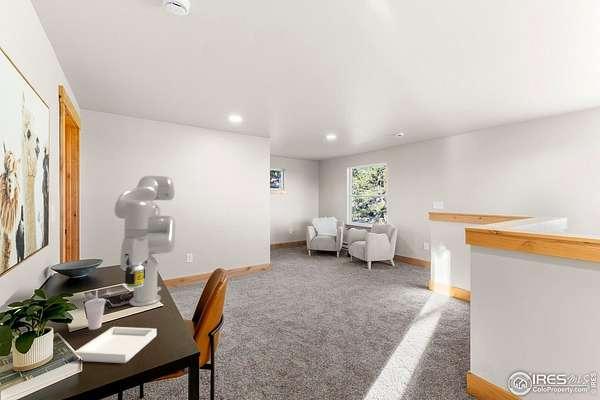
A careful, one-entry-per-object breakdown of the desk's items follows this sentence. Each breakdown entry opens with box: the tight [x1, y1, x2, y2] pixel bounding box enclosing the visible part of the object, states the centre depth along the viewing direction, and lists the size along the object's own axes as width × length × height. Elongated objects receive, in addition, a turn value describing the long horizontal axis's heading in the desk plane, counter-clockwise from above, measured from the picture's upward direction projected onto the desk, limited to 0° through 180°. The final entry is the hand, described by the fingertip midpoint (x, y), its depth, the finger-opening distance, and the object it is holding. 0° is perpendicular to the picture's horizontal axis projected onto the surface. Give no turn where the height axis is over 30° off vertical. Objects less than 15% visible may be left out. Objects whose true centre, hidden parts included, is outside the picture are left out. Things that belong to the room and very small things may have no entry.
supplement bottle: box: [126, 262, 144, 289], centre depth 103 cm, size 5×5×10 cm
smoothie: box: [84, 289, 107, 331], centre depth 102 cm, size 6×6×14 cm
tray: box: [74, 326, 158, 364], centre depth 89 cm, size 16×16×2 cm
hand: (135, 280), depth 103 cm, fingers closed on supplement bottle, 5 cm apart
